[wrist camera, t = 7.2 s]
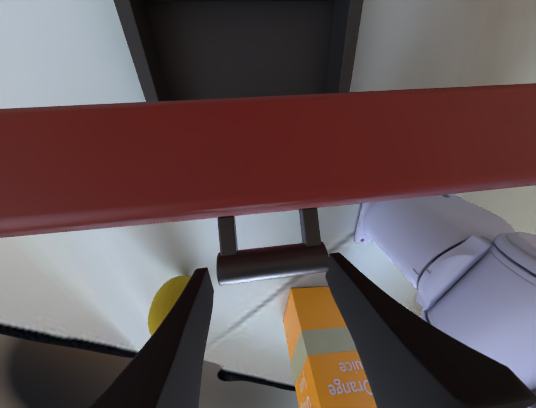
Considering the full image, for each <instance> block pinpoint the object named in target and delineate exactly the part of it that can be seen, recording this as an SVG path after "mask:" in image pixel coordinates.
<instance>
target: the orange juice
mask: <svg viewBox="0 0 536 408" xmlns="http://www.w3.org/2000/svg"><path fill="white" fill-rule="evenodd" d="M283 322H284V328H285V333H286V339H287V344H288V350H289V355H290V361H291V368H292V373H293V379H294V384H295V388H296V394H297V399H298V405H299V408H377V406H376V403H375V400H374V397H373V394H372V391H371V388H370V385H369V382H368V379H367V376H366V374H365V371H364V368H363V365H362V362H361V360H360V357H359V354H358V352H357V349H356V347H355V344H354V341H353V339H352V337H351V334H350V332H349V330H348V328H347V326H346V324H345V322H344V320H343V317H342V315H341V313H340V311H339V309H338V307H337V305H336V303H335V301H334V298H333V296H332V294H331V292H330V289H329V287H311V288H291V290H290V294H289V298H288V303H287V307H286V311H285V315H284V320H283Z"/></svg>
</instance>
